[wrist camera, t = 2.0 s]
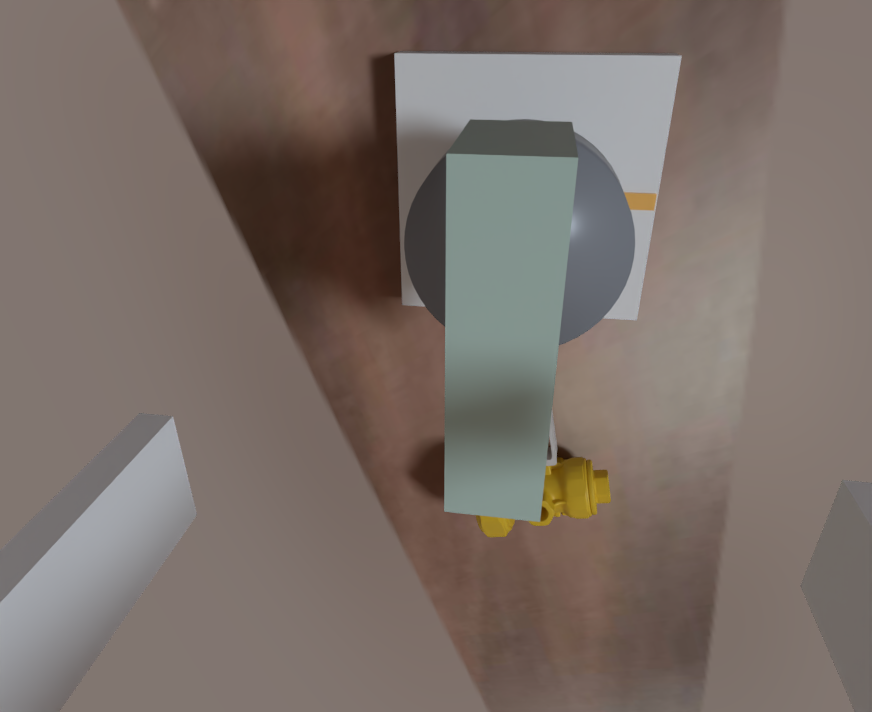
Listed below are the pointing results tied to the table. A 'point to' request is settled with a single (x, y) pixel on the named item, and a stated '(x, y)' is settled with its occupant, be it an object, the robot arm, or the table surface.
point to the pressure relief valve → (560, 491)
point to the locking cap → (513, 293)
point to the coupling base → (548, 101)
